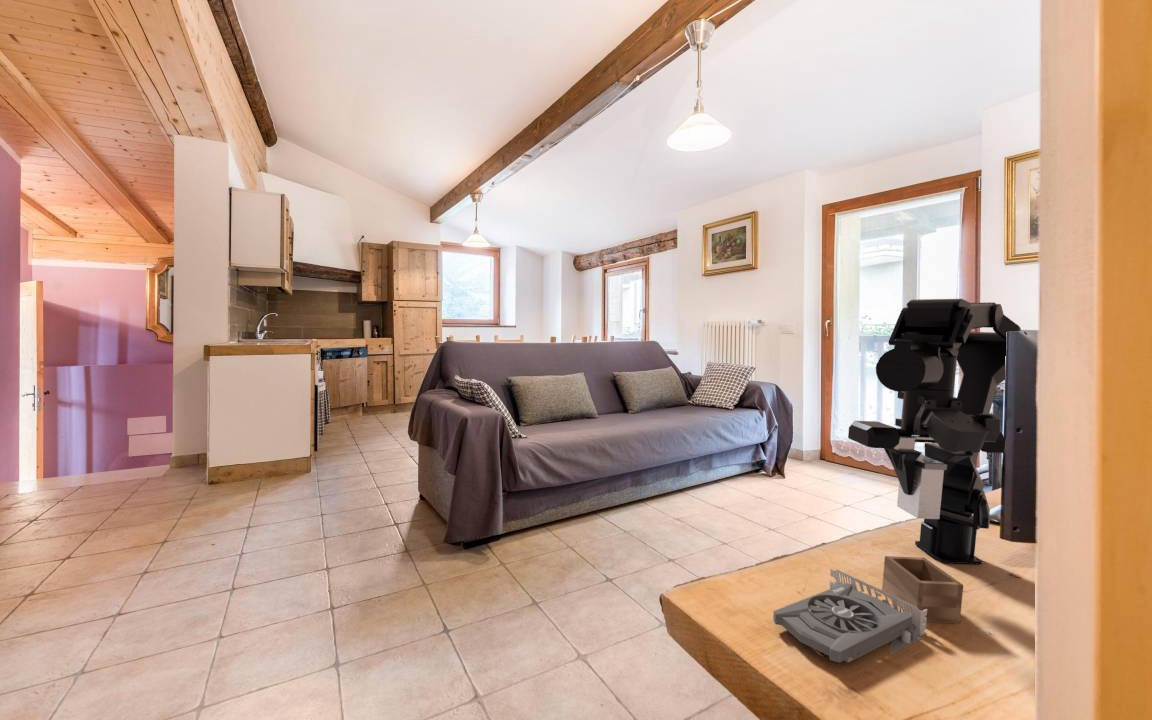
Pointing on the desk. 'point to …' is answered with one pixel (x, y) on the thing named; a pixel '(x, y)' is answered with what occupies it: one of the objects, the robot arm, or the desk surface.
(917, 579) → the open wooden box
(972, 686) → the desk surface
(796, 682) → the desk surface
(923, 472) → the grey-ended wooden post
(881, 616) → the graphics card
